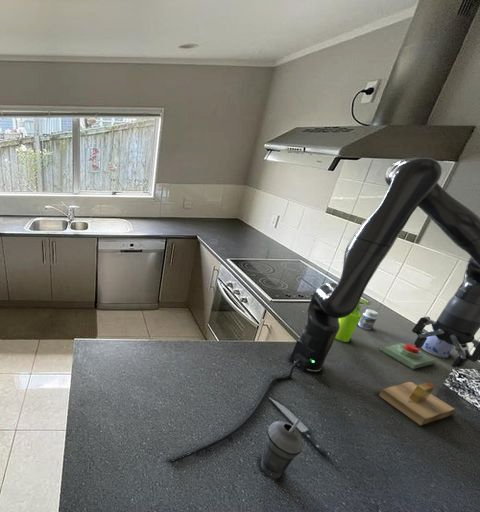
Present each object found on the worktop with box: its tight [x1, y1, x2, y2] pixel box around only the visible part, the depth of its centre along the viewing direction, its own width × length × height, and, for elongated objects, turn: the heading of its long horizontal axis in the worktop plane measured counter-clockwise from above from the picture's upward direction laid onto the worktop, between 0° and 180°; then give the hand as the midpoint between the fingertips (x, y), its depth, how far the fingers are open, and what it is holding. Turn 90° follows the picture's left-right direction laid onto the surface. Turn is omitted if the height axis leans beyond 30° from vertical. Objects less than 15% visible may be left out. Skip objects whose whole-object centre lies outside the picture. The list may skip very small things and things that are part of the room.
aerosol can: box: [420, 327, 455, 358], centre depth 112 cm, size 8×8×20 cm
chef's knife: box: [269, 397, 327, 457], centre depth 83 cm, size 19×1×3 cm
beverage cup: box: [260, 418, 304, 479], centre depth 68 cm, size 7×7×20 cm
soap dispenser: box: [335, 298, 372, 343], centre depth 118 cm, size 6×7×20 cm
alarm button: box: [405, 343, 420, 353], centre depth 110 cm, size 4×4×2 cm
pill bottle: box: [357, 308, 379, 330], centre depth 128 cm, size 5×5×8 cm
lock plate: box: [378, 381, 456, 426], centre depth 90 cm, size 14×11×3 cm
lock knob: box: [409, 382, 436, 402], centre depth 89 cm, size 5×2×6 cm, turn 105°
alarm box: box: [382, 342, 435, 370], centre depth 111 cm, size 11×10×4 cm
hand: (435, 356), depth 87 cm, fingers open, 8 cm apart
